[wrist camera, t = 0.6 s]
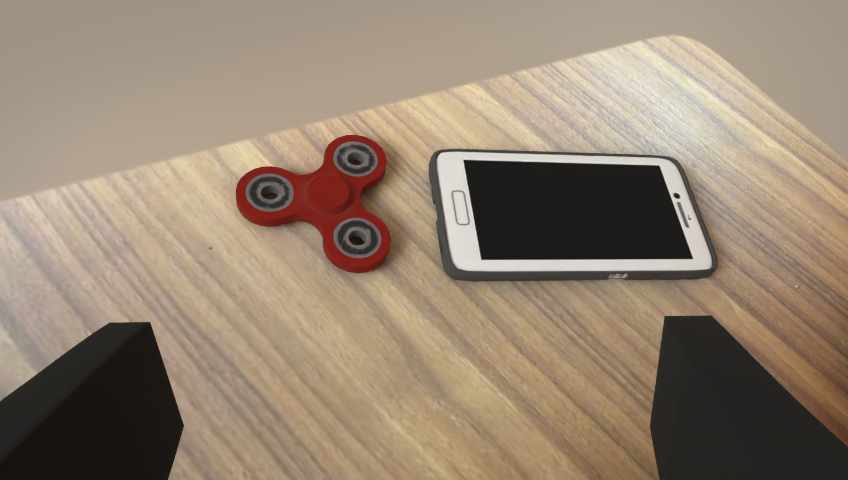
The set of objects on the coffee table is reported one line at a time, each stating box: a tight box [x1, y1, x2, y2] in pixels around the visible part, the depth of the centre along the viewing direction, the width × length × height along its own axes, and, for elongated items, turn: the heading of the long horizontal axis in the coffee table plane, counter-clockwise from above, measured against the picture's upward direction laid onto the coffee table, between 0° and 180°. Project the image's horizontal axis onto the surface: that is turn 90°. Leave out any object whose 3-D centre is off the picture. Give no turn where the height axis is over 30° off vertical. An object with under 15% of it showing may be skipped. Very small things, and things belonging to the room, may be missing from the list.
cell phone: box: [429, 149, 718, 281], centre depth 38 cm, size 8×15×1 cm, turn 96°
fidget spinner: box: [236, 135, 391, 273], centre depth 36 cm, size 8×7×1 cm
